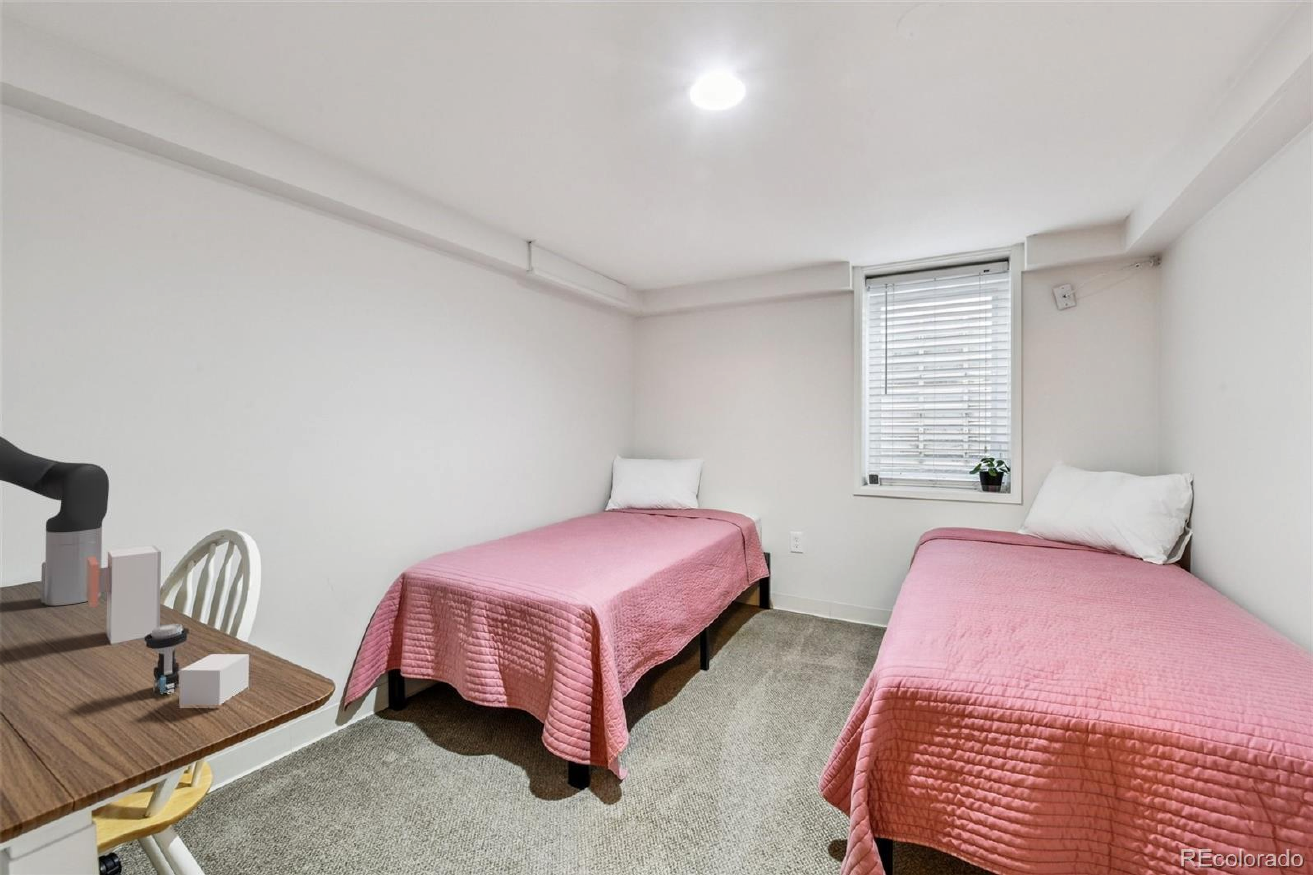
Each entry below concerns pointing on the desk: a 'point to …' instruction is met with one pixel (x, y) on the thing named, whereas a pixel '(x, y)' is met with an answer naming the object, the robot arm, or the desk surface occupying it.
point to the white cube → (213, 679)
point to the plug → (96, 580)
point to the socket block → (133, 593)
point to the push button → (166, 654)
